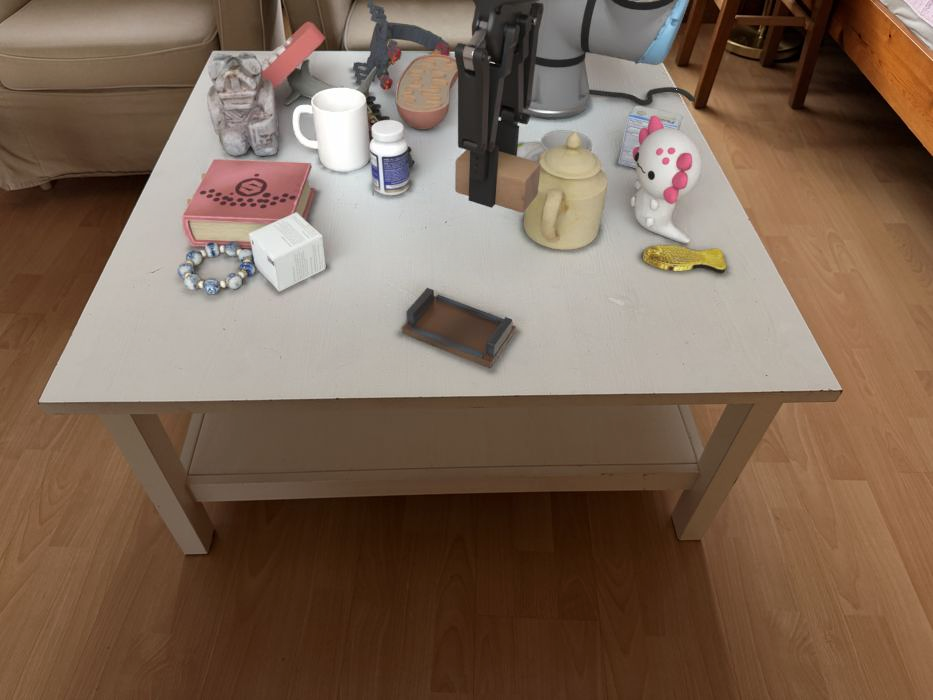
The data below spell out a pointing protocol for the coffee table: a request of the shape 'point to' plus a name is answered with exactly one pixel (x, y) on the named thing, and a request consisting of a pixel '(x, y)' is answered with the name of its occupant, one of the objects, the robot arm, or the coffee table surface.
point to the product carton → (288, 251)
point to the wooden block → (505, 180)
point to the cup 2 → (557, 142)
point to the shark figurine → (315, 83)
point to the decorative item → (684, 258)
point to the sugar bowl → (567, 197)
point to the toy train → (376, 116)
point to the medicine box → (638, 121)
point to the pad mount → (458, 328)
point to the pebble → (526, 148)
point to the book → (245, 199)
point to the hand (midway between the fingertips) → (491, 190)
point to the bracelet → (212, 251)
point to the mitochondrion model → (426, 90)
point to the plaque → (291, 53)
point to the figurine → (242, 105)
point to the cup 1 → (338, 128)
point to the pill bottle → (389, 158)
